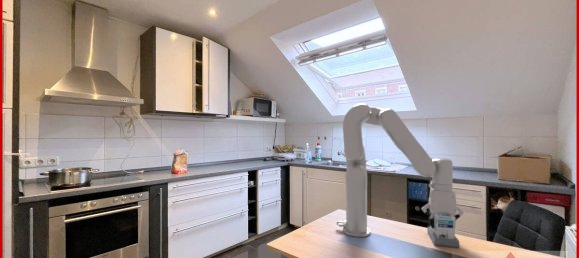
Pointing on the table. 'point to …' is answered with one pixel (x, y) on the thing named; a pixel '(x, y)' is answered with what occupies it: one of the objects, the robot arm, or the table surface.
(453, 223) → the light bulb box
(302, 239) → the table surface
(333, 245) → the table surface
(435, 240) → the tray
